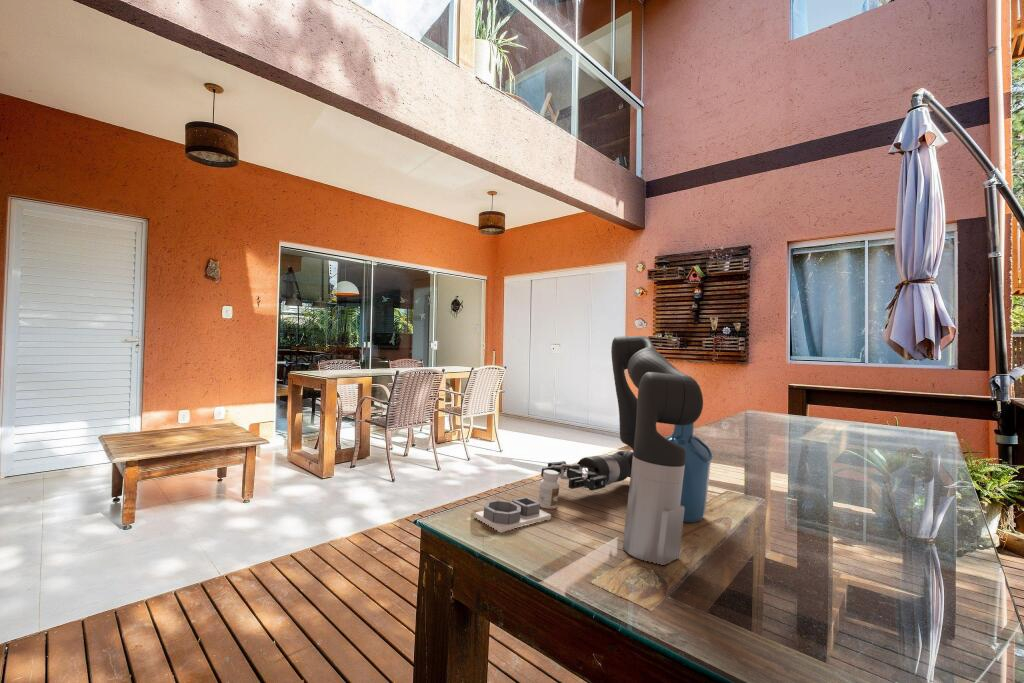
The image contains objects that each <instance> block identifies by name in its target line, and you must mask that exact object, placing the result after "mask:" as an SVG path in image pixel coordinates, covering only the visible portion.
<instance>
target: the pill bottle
mask: <svg viewBox="0 0 1024 683" xmlns="http://www.w3.org/2000/svg"><path fill="white" fill-rule="evenodd" d="M558 474H559V473H558V472H557V471H554V470H544V472H543V477H542V478H543V479H541V480H540V483H539V491H538V500H537V502H540V506H541V507H540V508H543V509H547V510H548V509H550V510H551V509H552V510H554V509H556V508H557V506H558V501H559V490H560V482H559V481H558V480H559V477H558Z"/></svg>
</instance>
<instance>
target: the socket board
mask: <svg viewBox="0 0 1024 683" xmlns="http://www.w3.org/2000/svg"><path fill="white" fill-rule="evenodd" d="M474 517H475V519H476V518H477V519H476V520H478V521H479V520H480V521H479V522H481V521H482V522H481V523H483V524H484V523H485V524H484V525H486V524H487V525H486V526H488V525H489V526H488V527H490V528H491V527H492V529H493V528H494V529H493V530H495V531H496V530H497V532H498V533H500V534H502V533H505V531H506V532H508V531H507V530H510V529H513V528H515V527H518V526H521V525H524V524H528V523H533V522H539V521H543V522H545V521H544V520H547V521H550V520H551V519H552V515H551V514H550V513H549V512H547V511H544V510H542V509H541V507H540V502H538V500H535V499H533V498H531V497H529V496H521V497H516V498H513V499H512V500H503V499H493V500H488V501H485V504H484V508H483V510H480V511H477V512H474ZM513 530H514V529H513ZM510 531H511V530H510Z"/></svg>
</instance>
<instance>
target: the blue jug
mask: <svg viewBox="0 0 1024 683" xmlns="http://www.w3.org/2000/svg"><path fill="white" fill-rule="evenodd" d="M694 426H695V422H694V423H692V424H690V425H674V427H673V432H672V433H671V434H670V435H667V436H663V437H664V438H666V439H668V440H670V441H672V442H674V443H676V444H678V445H680V446H681V447H683V448H684V449H685V451H686V460H685V468H684V477H683V485H682V494H681V504H680V505H682V506H684V508H685V511H684V520H683V521H684V522H683V523H697V522H698V523H699V522H701V520H702V519H703V518H704V516H705V515H706V509H707V508H706V507H707V500H708V499H707V498H708V490H709V482H710V481H709V480H710V473H711V464H712V460H713V453H712V451H711V450H710V449H711V448H710V447H709V446H708V445H707V444H706V443H704V442H703V441H702V440H701V439H700V438H699V437H697V436H696V435H695V436H694V431H695V429H694V428H695V427H694Z"/></svg>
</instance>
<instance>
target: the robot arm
mask: <svg viewBox="0 0 1024 683" xmlns="http://www.w3.org/2000/svg"><path fill="white" fill-rule="evenodd" d="M610 348H611V353H610V354H611V364H612V365H611V366H612V371H613V380H614V387H615V392H616V398H617V405H618V414H619V415H618V416H619V418H618V419H619V422H618V423H619V439H620V441H621V443H623V444H625V445H626V446H628V447H629V448H631V450H632V451H631V450H619V451H616V452H615V453H613V454H609V455H608V454H607V455H604V454H602V455H601V454H600V455H593V456H585V457H582V458H580V459H579V461H578V462H577V463H572V464H571V463H570V464H569V463H568V464H567V462H566V461H565V460H561V461H553V462H552V461H551V462H548V463H547V466H545V467H542V468H541V473H540V477H541V478H543V472H544V470H554V471H557V472H558V473H559V474H558V478H560V479H561V480H568V485H567V486H568V488H569V489H570V490H573V489H579V488H582V489H588V490H589V491H590V492H591V491H596V490H600V489H604V488H606V486H608V485H611V484H614V483H620V482H622V481H624V480H626V479H627V478H630V479H629V486H628V487H629V488H628V494H627V504H626V505H627V506H626V514H625V524H624V533H623V540H622V541H623V543H622V548H623V549H624V551H625V552H626V553H627V554H628V555H630V556H632V557H634V558H636V559H639V560H641V561H643V560H644V561H643V562H647V561H649V562H648V563H651V562H653V563H652V564H656V563H657V564H656V565H659V564H661V565H665V564H667V563H669V562H671V561H673V560H675V561H677V560H678V558H679V559H680V557H681V556H680V554H681V547H682V539H683V538H682V536H683V528H684V527H683V526H684V522H683V520H684V511H685V508H684V506H682V505H680V504H681V494H682V485H683V477H684V468H685V460H686V451H685V449H684V448H683V447H681V446H680V445H678V444H676V443H674V442H672V441H670V440H668V439H666V438H664V437H665V436H663V435H662V434H660V432H658V429H657V423H659V424H666V425H690V424H692V423H694V424H695V423H696V422H697V420H698V419H699V418H700V417H701V415H702V412H703V408H704V397H703V392H702V389H701V387H700V385H699V384H698V382H697V381H696V379H694V378H693V377H692V376H690V375H688V374H685V373H684V372H682V371H680V370H679V369H678V368H676V366H674V365H673V364H672V363H670V362H669V360H668V359H667V358H666V357H665V356H664V355H663V354H661V353H660V352H659V351H658V350H657V349H656V347H655V345H654V343H653V342H652V340H651V339H650V338H649V337H647V335H646V336H645V335H622V336H621V335H620V336H615V337H614V338H613V339H612V342H611V347H610ZM626 370H627V374H628V376H629V378H630V380H631V382H632V384H633V385H634V386H635V388H637V389H638V390H637V397H636V395H635V393H634V392H633V391H632V389H631V387H630V385H629V384H628V380H627V378H626V373H625V372H626ZM565 473H566V475H564V474H565ZM676 559H677V560H676ZM673 562H674V561H673ZM671 563H672V562H671ZM669 564H670V563H669ZM661 565H660V566H661ZM667 565H668V564H667ZM665 566H666V565H665Z"/></svg>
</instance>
